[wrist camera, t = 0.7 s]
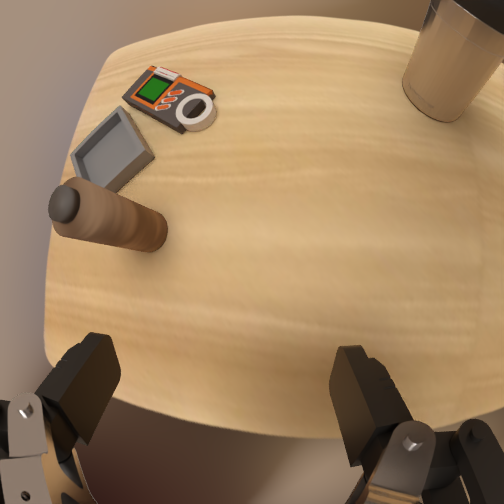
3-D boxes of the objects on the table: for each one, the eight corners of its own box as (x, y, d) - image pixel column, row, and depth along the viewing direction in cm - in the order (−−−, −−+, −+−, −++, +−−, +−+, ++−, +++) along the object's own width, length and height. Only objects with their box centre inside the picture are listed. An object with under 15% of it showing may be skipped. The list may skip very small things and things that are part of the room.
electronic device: (189, 134, 28) (119, 95, 30) (197, 145, 31) (128, 105, 33) (226, 93, 28) (150, 62, 30) (232, 105, 31) (158, 73, 33)
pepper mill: (155, 203, 30) (70, 159, 16) (174, 235, 30) (85, 205, 16) (127, 228, 31) (37, 200, 17) (144, 260, 30) (49, 247, 16)
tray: (129, 113, 33) (119, 105, 31) (155, 157, 31) (145, 149, 29) (80, 160, 34) (70, 154, 32) (98, 209, 32) (86, 205, 30)
